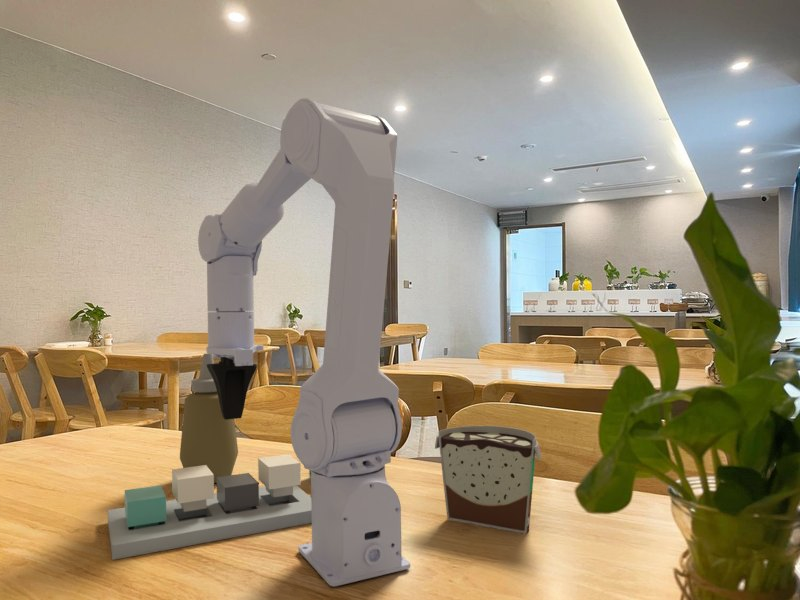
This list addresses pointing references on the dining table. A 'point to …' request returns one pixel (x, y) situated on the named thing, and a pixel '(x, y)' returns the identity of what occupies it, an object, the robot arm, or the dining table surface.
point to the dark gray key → (237, 492)
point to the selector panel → (207, 523)
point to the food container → (488, 475)
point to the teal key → (145, 506)
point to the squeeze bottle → (207, 428)
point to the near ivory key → (279, 474)
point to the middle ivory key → (192, 487)
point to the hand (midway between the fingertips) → (232, 418)
